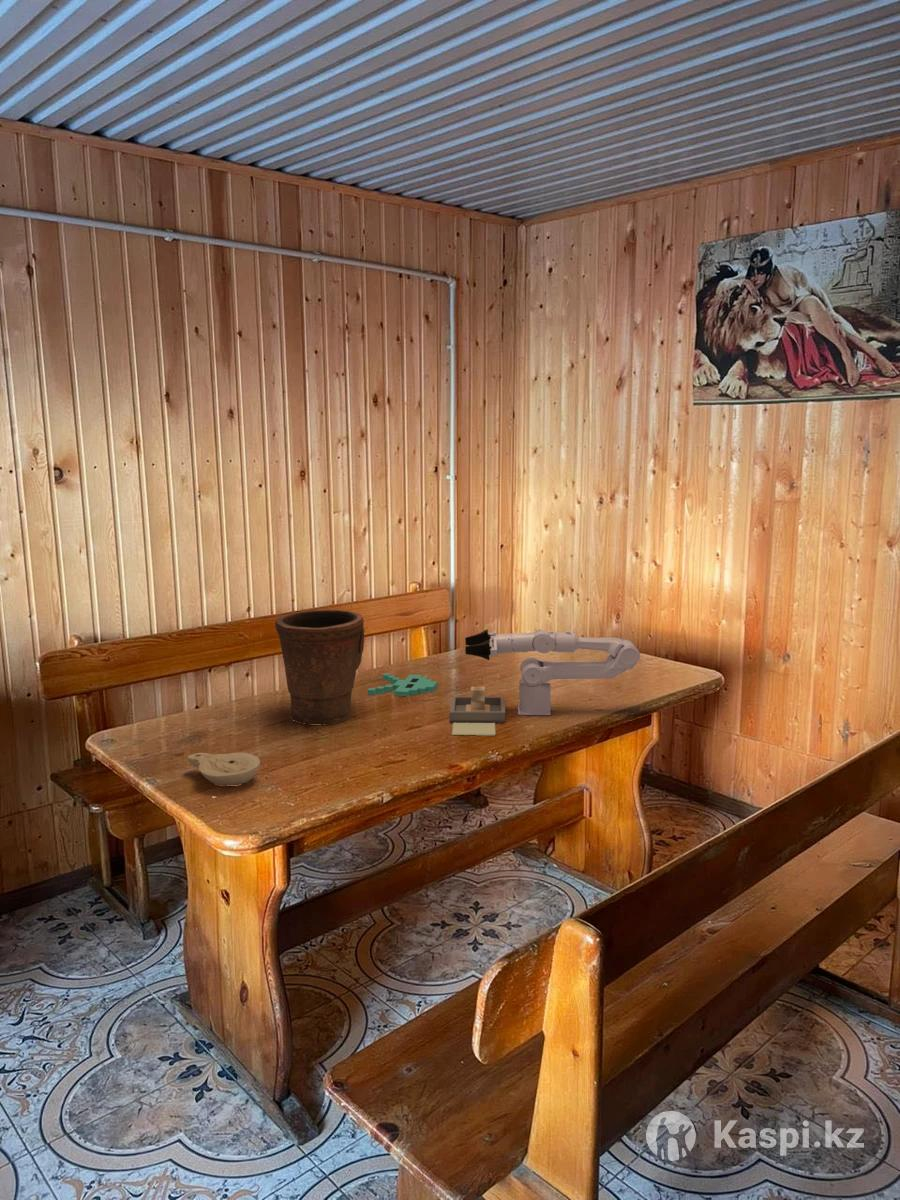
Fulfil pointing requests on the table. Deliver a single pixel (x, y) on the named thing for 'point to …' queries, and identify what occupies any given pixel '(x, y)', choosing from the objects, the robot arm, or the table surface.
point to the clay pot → (321, 662)
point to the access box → (463, 712)
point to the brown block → (477, 698)
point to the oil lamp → (226, 767)
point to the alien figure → (405, 685)
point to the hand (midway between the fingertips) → (465, 645)
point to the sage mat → (474, 729)
